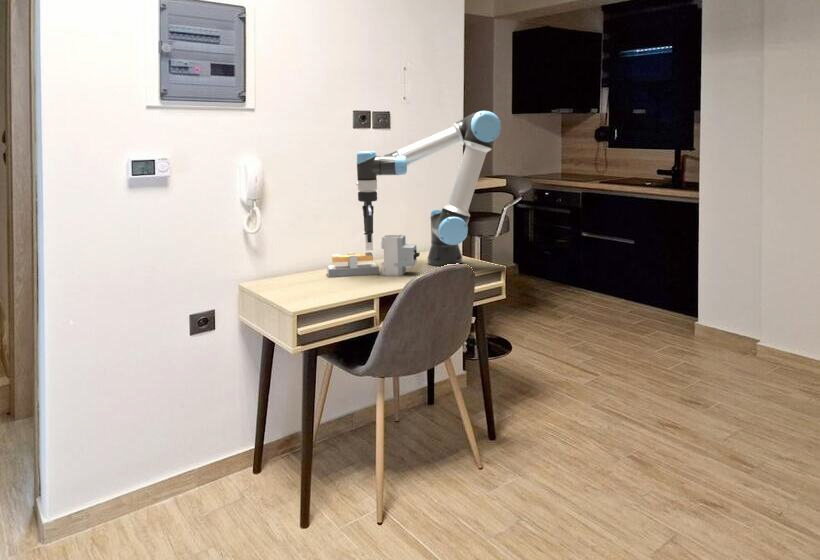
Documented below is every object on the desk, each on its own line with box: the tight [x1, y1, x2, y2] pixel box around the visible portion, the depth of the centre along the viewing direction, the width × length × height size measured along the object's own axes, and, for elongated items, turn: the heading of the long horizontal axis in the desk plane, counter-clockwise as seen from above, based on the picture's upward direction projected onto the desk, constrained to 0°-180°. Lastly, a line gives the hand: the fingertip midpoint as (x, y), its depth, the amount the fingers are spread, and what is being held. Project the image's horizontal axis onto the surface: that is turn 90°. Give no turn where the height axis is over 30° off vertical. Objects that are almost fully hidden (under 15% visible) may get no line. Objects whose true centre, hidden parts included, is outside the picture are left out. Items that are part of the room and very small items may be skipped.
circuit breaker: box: [380, 234, 421, 277], centre depth 257 cm, size 8×14×15 cm, turn 78°
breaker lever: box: [331, 251, 374, 263], centre depth 259 cm, size 16×5×3 cm, turn 101°
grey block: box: [326, 252, 380, 278], centre depth 259 cm, size 20×7×8 cm, turn 101°
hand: (369, 250), depth 259 cm, fingers closed
